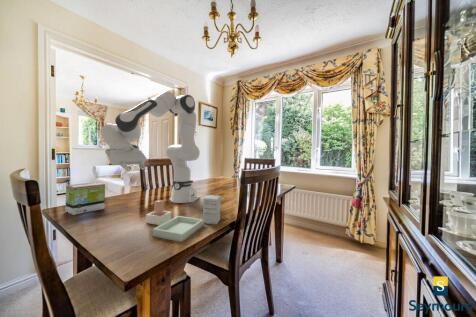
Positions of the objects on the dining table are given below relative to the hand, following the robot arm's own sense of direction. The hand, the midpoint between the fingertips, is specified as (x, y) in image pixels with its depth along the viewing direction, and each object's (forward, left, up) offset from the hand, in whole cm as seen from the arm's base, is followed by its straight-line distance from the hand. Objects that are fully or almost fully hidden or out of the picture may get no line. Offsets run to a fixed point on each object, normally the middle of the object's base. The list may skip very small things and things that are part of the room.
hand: (136, 169), depth 102 cm
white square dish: (0, +14, -25) cm, 29 cm away
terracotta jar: (0, +14, -25) cm, 29 cm away
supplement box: (-10, +38, -25) cm, 47 cm away
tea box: (+2, -33, -25) cm, 41 cm away
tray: (+6, +30, -25) cm, 39 cm away
